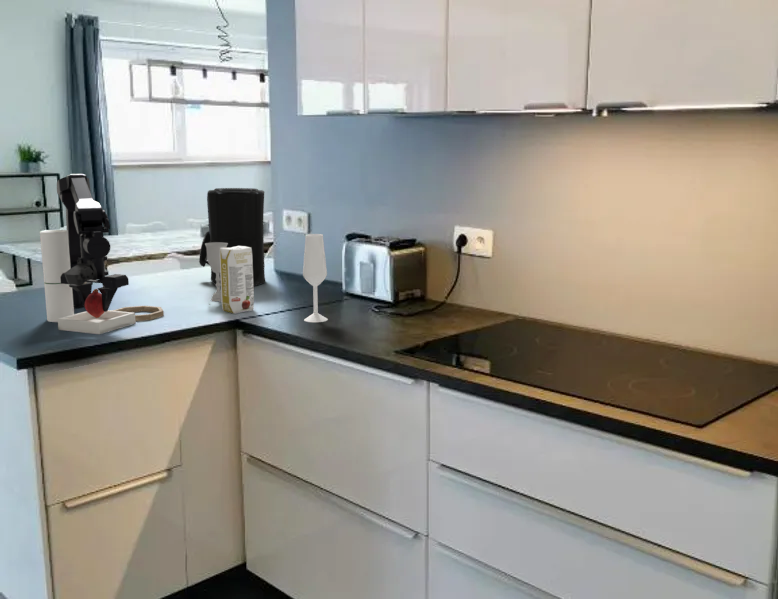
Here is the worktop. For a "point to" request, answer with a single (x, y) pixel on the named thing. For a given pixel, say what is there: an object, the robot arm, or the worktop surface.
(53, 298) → the cylindrical container
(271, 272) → the worktop surface
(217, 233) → the coffee maker
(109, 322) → the tray
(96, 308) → the onion
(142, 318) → the ring collar
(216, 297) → the chalice
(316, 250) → the champagne flute
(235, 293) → the juice carton
